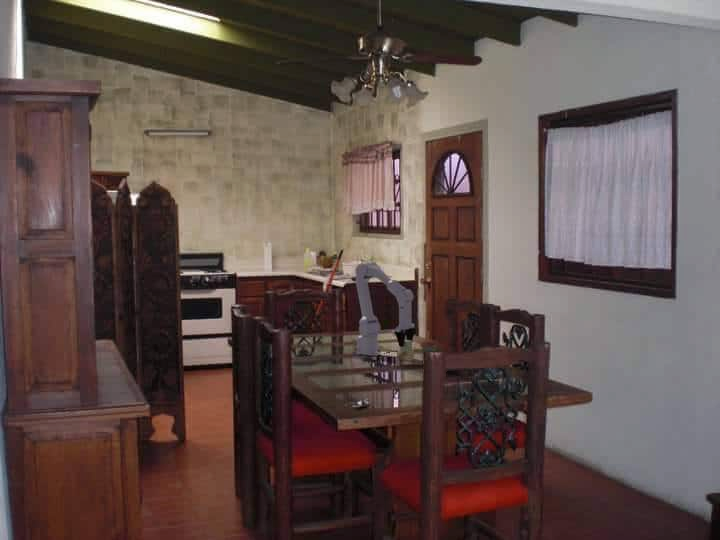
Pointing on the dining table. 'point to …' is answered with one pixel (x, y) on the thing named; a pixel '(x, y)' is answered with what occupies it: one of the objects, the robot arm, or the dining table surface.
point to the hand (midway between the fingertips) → (405, 345)
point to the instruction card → (388, 354)
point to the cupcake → (429, 344)
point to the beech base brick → (405, 356)
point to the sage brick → (406, 346)
